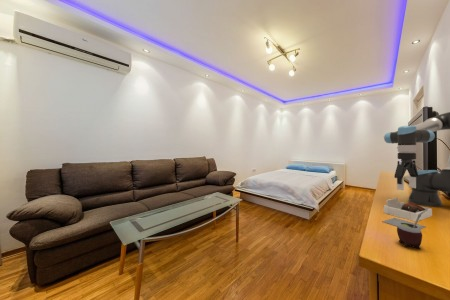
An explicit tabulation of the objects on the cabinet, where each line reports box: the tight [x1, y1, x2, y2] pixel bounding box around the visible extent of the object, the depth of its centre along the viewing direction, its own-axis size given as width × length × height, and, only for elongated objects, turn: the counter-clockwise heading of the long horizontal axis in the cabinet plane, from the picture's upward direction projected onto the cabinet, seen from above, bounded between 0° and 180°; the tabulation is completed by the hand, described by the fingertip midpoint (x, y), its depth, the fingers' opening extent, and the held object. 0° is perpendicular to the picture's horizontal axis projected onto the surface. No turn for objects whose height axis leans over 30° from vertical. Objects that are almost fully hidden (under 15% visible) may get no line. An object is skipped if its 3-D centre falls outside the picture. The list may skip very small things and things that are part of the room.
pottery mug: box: [401, 201, 425, 213], centre depth 99 cm, size 12×9×8 cm
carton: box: [383, 197, 433, 222], centre depth 101 cm, size 18×14×7 cm
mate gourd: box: [396, 210, 427, 250], centre depth 70 cm, size 8×8×15 cm
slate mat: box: [382, 217, 427, 230], centre depth 88 cm, size 12×12×1 cm
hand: (406, 188), depth 101 cm, fingers open, 13 cm apart
